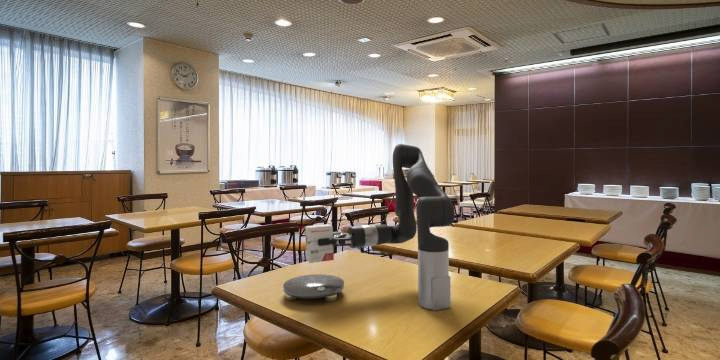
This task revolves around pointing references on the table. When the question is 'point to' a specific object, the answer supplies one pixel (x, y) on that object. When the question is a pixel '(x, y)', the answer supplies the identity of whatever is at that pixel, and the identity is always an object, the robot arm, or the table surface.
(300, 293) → the base
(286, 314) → the table surface
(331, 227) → the ink box
